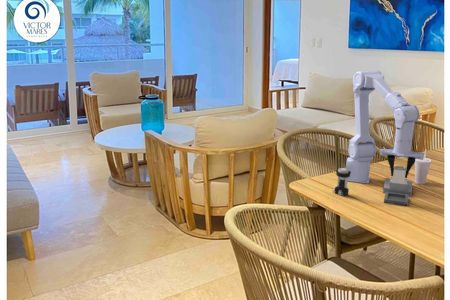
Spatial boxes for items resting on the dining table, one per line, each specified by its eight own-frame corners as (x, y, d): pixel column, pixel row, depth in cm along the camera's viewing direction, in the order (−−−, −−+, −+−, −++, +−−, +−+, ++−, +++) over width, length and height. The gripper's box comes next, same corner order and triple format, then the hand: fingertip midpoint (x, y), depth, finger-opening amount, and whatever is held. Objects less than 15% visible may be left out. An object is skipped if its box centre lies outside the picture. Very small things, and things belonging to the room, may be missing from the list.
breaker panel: (382, 192, 180) (384, 181, 178) (385, 182, 190) (386, 172, 189) (411, 196, 176) (412, 185, 175) (411, 186, 187) (413, 175, 185)
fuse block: (392, 182, 169) (393, 168, 167) (392, 179, 173) (394, 164, 171) (404, 184, 168) (405, 169, 166) (404, 180, 171) (406, 166, 169)
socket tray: (383, 202, 170) (384, 199, 170) (385, 195, 177) (385, 191, 177) (407, 206, 168) (407, 202, 167) (408, 198, 175) (408, 194, 174)
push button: (328, 193, 178) (330, 168, 175) (335, 189, 182) (337, 165, 179) (344, 198, 174) (347, 172, 171) (351, 194, 178) (353, 169, 175)
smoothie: (430, 186, 187) (434, 152, 183) (412, 184, 188) (417, 151, 184) (426, 180, 193) (431, 147, 189) (410, 179, 194) (414, 146, 190)
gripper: (380, 140, 165) (377, 177, 169) (425, 144, 160) (420, 182, 164) (382, 135, 171) (378, 171, 175) (425, 139, 166) (420, 176, 170)
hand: (399, 176), depth 170 cm, fingers closed on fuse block, 4 cm apart
